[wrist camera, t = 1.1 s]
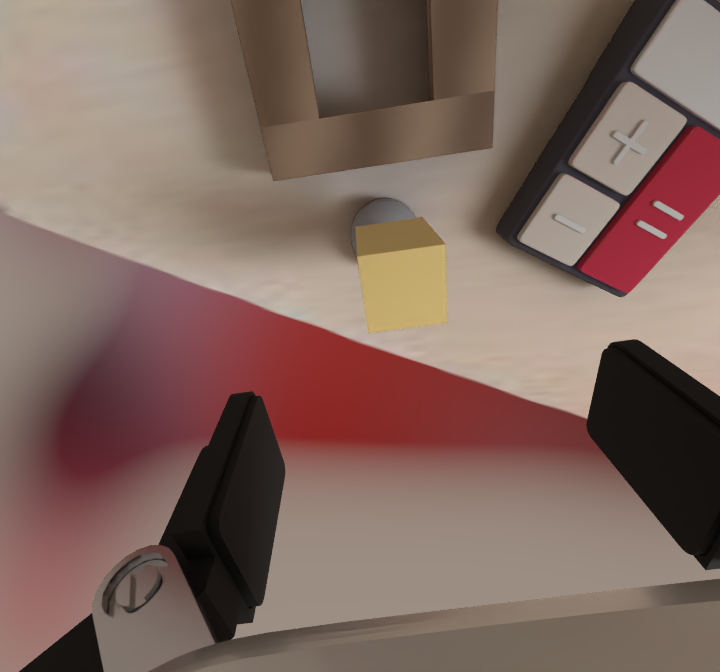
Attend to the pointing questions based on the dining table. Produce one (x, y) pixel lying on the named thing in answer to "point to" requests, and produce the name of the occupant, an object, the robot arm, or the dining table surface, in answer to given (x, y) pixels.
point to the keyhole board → (374, 127)
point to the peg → (399, 267)
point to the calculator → (629, 151)
